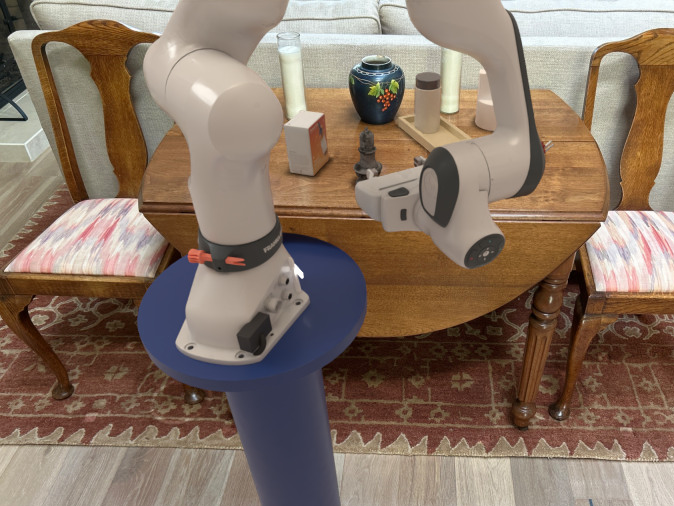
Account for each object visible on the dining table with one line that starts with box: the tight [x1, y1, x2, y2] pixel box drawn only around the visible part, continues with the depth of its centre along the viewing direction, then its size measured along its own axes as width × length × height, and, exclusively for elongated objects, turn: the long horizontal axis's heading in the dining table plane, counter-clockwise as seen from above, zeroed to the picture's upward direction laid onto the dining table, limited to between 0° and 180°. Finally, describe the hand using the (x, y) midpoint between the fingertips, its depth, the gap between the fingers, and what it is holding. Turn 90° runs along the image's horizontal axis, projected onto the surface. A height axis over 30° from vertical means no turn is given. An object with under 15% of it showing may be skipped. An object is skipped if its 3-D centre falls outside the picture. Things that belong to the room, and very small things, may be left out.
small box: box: [283, 109, 330, 177], centre depth 118 cm, size 8×6×10 cm
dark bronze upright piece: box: [352, 126, 384, 185], centre depth 112 cm, size 6×6×12 cm
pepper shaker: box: [413, 71, 442, 134], centre depth 130 cm, size 6×6×12 cm
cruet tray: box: [397, 113, 473, 154], centre depth 131 cm, size 18×10×2 cm, turn 27°
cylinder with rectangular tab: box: [474, 68, 497, 132], centre depth 133 cm, size 9×9×12 cm
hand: (393, 166), depth 103 cm, fingers open, 8 cm apart
